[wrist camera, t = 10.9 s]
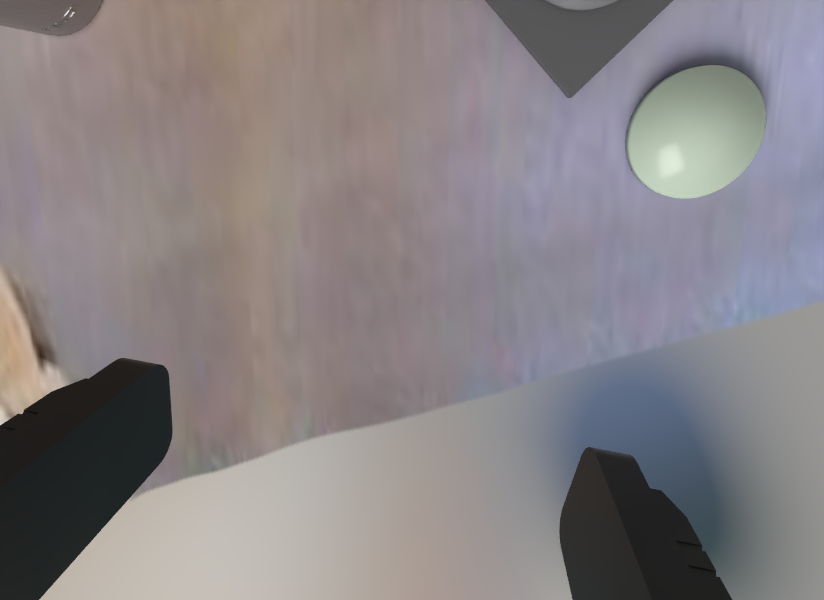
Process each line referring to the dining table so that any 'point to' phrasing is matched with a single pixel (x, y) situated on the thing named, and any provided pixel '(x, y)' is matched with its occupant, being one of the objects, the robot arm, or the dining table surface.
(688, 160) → the pale green dome
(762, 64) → the dining table surface
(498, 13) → the lamp base pad
